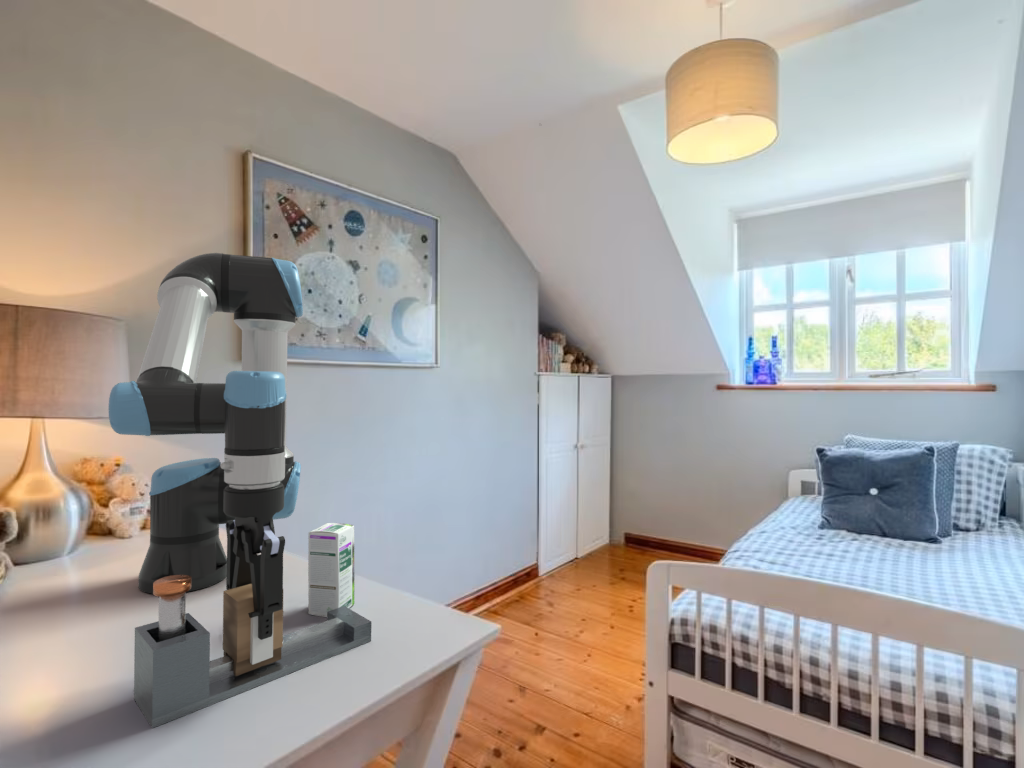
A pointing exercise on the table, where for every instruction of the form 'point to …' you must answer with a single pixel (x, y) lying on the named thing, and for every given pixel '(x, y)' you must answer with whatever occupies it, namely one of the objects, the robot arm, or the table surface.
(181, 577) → the plunger
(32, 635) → the table surface
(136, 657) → the rail
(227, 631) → the block
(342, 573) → the syrup box
